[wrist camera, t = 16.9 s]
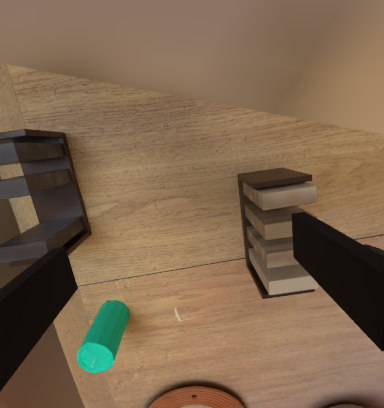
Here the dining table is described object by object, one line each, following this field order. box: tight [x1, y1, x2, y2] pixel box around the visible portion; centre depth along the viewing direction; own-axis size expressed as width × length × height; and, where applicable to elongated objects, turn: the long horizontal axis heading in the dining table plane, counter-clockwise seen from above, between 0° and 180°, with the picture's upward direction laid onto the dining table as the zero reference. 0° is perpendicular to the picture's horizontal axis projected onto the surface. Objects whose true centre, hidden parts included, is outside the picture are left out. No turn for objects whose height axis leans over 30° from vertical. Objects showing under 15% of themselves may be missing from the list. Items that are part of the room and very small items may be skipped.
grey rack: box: [0, 129, 91, 267], centre depth 36 cm, size 18×8×12 cm, turn 8°
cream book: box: [249, 248, 318, 295], centre depth 39 cm, size 2×7×11 cm, turn 98°
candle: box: [77, 300, 129, 373], centre depth 42 cm, size 6×6×12 cm
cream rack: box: [238, 168, 317, 299], centre depth 38 cm, size 18×8×12 cm, turn 8°
